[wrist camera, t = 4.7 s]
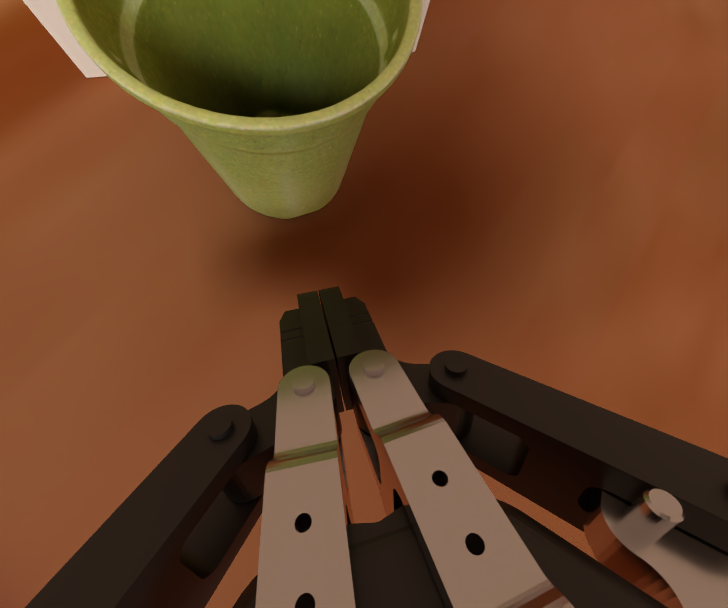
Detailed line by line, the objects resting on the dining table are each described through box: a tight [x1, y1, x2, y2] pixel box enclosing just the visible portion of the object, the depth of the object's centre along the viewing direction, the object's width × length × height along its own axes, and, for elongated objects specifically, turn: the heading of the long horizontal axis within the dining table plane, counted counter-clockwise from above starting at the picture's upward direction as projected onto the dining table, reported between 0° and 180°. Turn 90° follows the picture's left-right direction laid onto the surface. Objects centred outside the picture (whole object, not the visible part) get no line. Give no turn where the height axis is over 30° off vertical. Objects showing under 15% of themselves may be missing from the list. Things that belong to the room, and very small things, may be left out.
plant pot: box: [56, 0, 422, 219], centre depth 12 cm, size 9×9×9 cm
